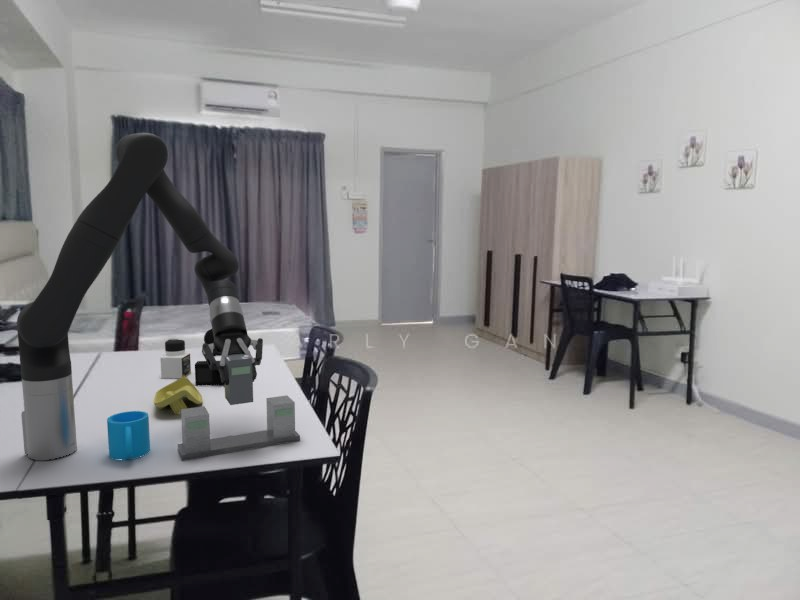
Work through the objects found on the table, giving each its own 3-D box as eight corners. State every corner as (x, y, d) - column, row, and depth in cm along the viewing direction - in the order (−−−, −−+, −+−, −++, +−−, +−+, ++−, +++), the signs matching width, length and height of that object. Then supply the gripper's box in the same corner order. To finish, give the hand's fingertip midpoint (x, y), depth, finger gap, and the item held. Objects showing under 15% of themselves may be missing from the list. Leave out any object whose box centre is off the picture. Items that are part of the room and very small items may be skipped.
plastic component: (156, 391, 166) (189, 373, 169) (169, 412, 168) (201, 395, 170) (152, 406, 147) (189, 386, 150) (167, 430, 149) (203, 410, 152)
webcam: (220, 351, 228) (219, 325, 226) (228, 354, 222) (227, 328, 221) (201, 353, 223) (200, 328, 221) (208, 357, 217) (207, 330, 216)
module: (230, 405, 127) (228, 360, 126) (225, 397, 133) (223, 354, 131) (253, 402, 129) (252, 358, 128) (247, 394, 135) (245, 352, 134)
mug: (109, 449, 130) (107, 413, 128) (149, 443, 133) (147, 409, 132) (107, 470, 119) (105, 431, 118) (151, 463, 122) (149, 426, 121)
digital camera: (194, 387, 178) (193, 364, 177) (198, 382, 184) (197, 360, 183) (228, 386, 179) (228, 364, 178) (232, 381, 185) (231, 360, 184)
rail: (181, 460, 123) (179, 418, 122) (177, 449, 130) (175, 409, 128) (300, 440, 135) (299, 402, 134) (291, 430, 142) (290, 394, 140)
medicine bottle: (182, 378, 187) (181, 342, 186) (160, 378, 187) (159, 342, 186) (191, 373, 194) (189, 337, 193) (170, 372, 194) (168, 337, 193)
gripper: (196, 312, 132) (208, 377, 123) (260, 308, 138) (275, 369, 129) (194, 331, 137) (205, 394, 128) (255, 326, 144) (269, 386, 135)
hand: (240, 381), depth 129 cm, fingers closed on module, 5 cm apart
